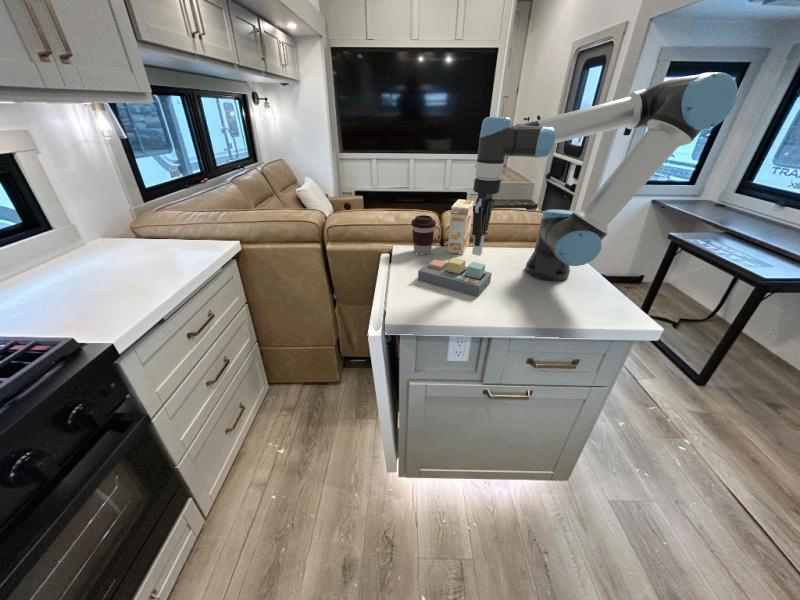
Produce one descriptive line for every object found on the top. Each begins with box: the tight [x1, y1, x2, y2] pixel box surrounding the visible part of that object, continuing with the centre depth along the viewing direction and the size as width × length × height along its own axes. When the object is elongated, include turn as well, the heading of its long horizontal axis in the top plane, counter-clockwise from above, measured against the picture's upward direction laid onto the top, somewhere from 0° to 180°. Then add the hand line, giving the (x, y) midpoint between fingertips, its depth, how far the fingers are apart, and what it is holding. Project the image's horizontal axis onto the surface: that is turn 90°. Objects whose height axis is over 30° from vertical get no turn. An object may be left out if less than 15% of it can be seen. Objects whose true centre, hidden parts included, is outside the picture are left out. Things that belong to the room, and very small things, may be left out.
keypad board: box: [417, 258, 493, 298], centre depth 112 cm, size 22×12×4 cm, turn 58°
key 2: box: [466, 261, 486, 279], centre depth 108 cm, size 5×5×4 cm
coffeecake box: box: [447, 198, 475, 255], centre depth 138 cm, size 15×7×20 cm, turn 160°
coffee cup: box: [410, 214, 437, 255], centre depth 134 cm, size 10×10×15 cm
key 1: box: [429, 259, 447, 271], centre depth 116 cm, size 5×5×4 cm
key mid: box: [447, 257, 467, 274], centre depth 111 cm, size 5×5×4 cm
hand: (476, 254), depth 105 cm, fingers closed
